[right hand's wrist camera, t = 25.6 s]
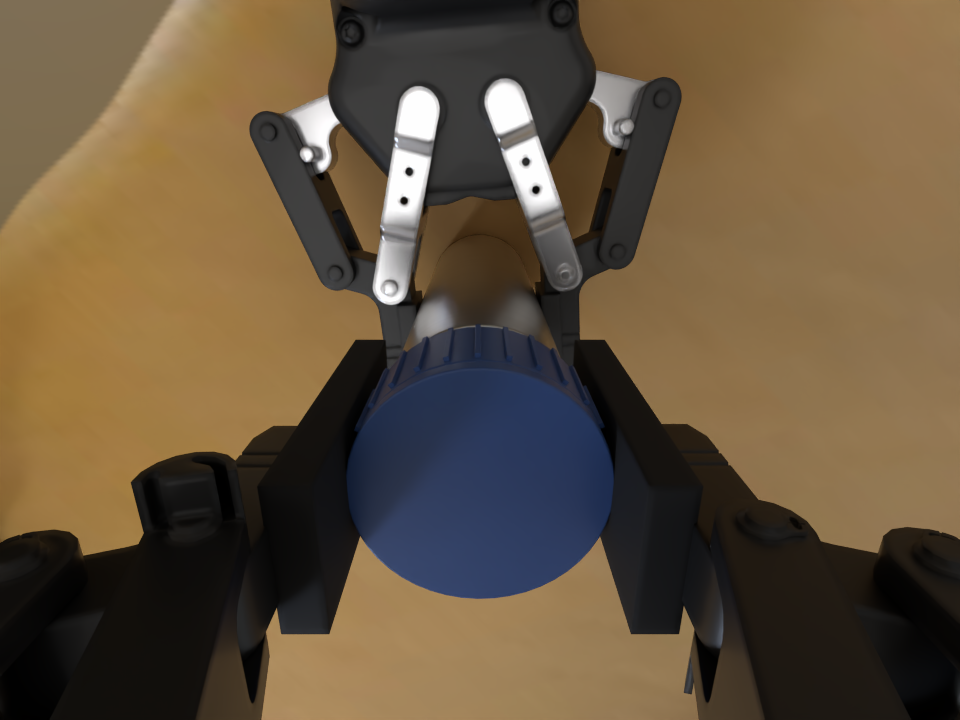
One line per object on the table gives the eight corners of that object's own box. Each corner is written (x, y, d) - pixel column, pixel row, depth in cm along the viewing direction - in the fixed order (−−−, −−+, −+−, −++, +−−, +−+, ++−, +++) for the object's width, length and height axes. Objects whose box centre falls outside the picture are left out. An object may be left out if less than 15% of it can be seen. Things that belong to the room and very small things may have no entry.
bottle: (445, 224, 25) (389, 333, 10) (537, 247, 26) (624, 388, 10) (425, 314, 27) (349, 532, 11) (512, 334, 27) (556, 573, 12)
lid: (328, 464, 12) (294, 532, 10) (437, 277, 11) (426, 309, 9) (515, 557, 13) (522, 638, 11) (639, 396, 12) (676, 452, 10)
